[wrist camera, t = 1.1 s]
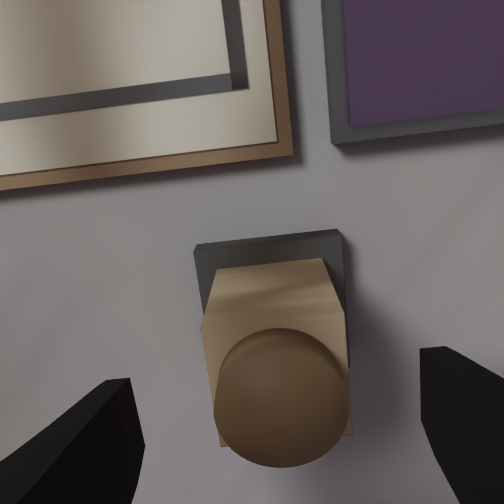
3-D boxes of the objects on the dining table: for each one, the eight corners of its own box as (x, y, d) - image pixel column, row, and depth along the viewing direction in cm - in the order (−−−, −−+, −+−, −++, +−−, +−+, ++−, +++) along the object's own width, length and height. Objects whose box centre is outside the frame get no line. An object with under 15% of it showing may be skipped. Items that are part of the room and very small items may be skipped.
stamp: (336, 228, 17) (383, 304, 10) (345, 353, 18) (391, 488, 12) (197, 244, 17) (158, 327, 11) (217, 366, 18) (193, 504, 12)
